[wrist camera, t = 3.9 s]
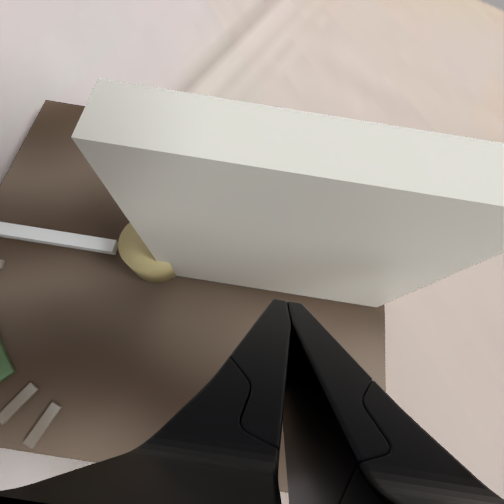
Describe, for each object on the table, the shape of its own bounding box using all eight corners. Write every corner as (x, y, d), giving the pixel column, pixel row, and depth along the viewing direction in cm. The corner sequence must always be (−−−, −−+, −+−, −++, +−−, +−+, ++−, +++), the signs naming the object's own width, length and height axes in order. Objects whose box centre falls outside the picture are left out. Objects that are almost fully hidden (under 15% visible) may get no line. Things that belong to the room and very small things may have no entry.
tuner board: (370, 493, 13) (388, 509, 12) (-90, 421, 13) (-132, 428, 12) (371, 169, 19) (383, 152, 18) (59, 119, 19) (44, 97, 18)
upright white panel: (376, 318, 14) (588, 241, 6) (-10, 257, 14) (-365, 90, 6) (376, 265, 15) (557, 134, 7) (15, 208, 15) (-259, 3, 7)
